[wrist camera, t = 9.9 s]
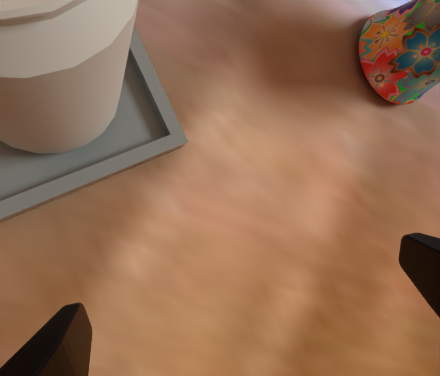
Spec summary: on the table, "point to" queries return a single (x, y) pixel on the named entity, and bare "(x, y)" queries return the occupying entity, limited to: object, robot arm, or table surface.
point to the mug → (402, 50)
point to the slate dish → (96, 144)
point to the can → (61, 70)
